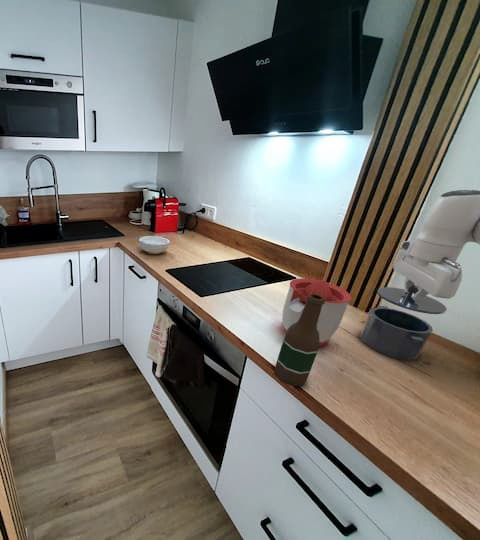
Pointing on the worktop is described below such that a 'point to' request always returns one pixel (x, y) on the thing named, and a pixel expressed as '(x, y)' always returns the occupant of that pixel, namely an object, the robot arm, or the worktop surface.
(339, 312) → the citrus juicer
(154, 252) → the cereal bowl
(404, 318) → the pot
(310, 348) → the beer bottle
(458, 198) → the robot arm
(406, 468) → the worktop surface
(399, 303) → the pot lid
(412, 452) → the worktop surface
